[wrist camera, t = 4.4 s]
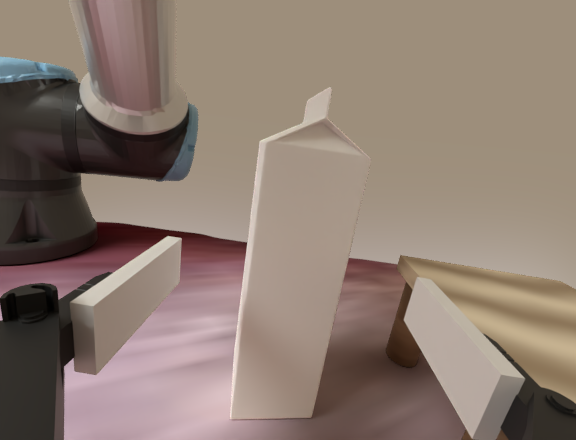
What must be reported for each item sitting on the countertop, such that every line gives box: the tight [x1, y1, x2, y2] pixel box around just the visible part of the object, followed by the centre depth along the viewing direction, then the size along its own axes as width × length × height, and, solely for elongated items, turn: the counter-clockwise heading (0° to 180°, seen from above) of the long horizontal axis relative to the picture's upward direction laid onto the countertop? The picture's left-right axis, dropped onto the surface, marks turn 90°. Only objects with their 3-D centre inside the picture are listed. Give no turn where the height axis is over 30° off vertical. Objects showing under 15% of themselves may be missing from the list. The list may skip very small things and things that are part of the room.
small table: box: [386, 255, 576, 440], centre depth 21 cm, size 16×16×10 cm
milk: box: [230, 87, 371, 420], centre depth 19 cm, size 6×6×22 cm
